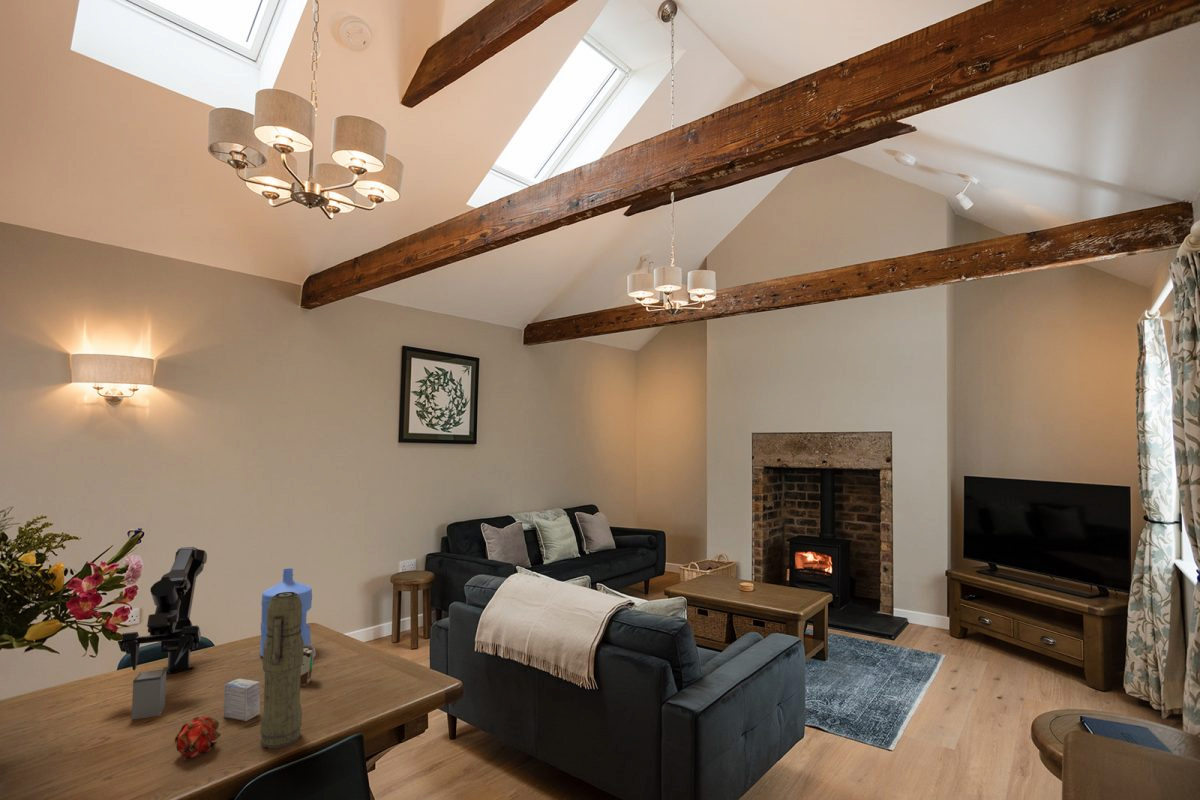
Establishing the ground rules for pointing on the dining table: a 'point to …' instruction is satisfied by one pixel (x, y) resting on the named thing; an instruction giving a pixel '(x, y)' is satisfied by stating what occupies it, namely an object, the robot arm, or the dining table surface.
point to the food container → (307, 663)
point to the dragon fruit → (197, 736)
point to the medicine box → (242, 699)
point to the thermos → (282, 672)
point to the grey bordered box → (148, 694)
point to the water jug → (287, 586)
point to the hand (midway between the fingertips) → (154, 667)
